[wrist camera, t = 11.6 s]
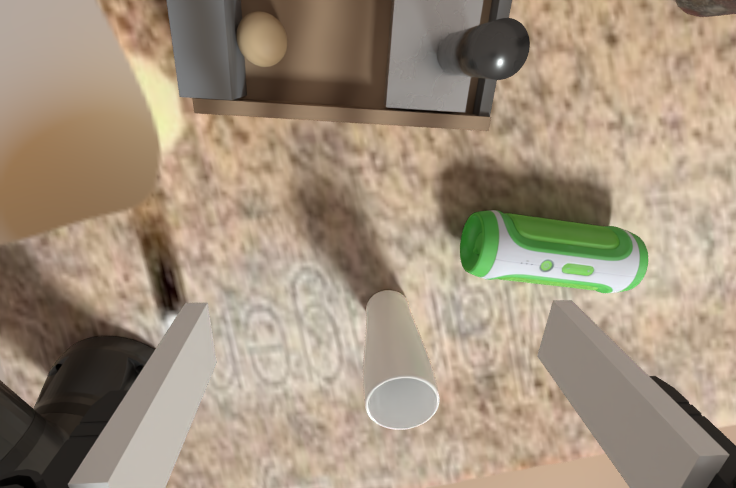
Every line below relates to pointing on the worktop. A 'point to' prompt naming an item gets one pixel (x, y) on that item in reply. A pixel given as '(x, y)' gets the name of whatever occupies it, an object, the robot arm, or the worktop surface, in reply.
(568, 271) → the speaker
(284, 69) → the base
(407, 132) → the worktop surface
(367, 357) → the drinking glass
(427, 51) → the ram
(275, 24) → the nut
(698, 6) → the candle
